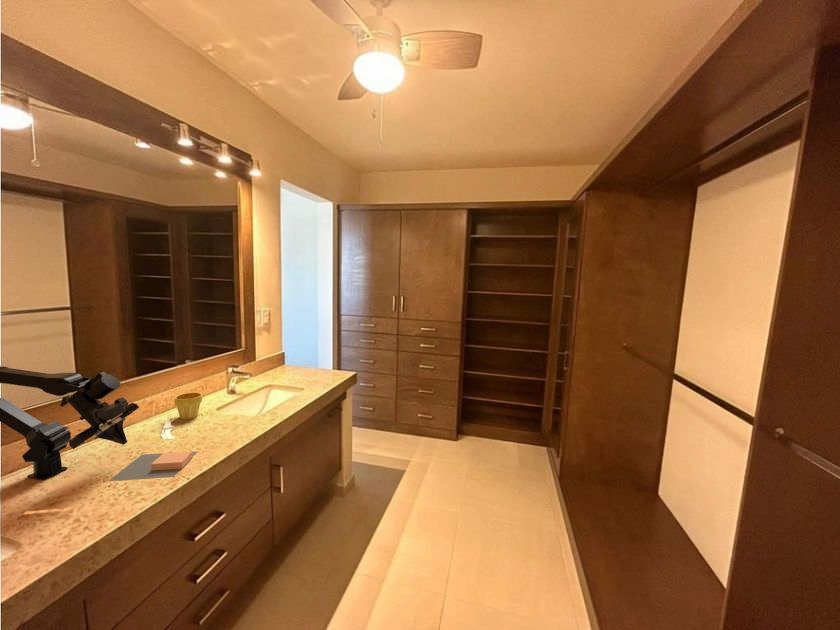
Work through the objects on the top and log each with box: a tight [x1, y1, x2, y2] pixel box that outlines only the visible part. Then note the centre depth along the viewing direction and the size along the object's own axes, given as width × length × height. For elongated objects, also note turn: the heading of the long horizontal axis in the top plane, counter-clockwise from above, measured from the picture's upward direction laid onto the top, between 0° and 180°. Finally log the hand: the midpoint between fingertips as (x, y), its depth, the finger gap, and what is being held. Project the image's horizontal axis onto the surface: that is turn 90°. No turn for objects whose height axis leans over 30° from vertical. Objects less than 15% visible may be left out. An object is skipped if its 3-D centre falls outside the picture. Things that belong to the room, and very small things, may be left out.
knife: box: [160, 417, 176, 440], centre depth 137 cm, size 30×2×8 cm
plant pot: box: [174, 391, 203, 420], centre depth 153 cm, size 10×10×10 cm
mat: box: [108, 450, 199, 482], centre depth 113 cm, size 18×16×1 cm
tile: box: [151, 451, 194, 470], centre depth 114 cm, size 2×7×9 cm
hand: (125, 443), depth 111 cm, fingers closed
